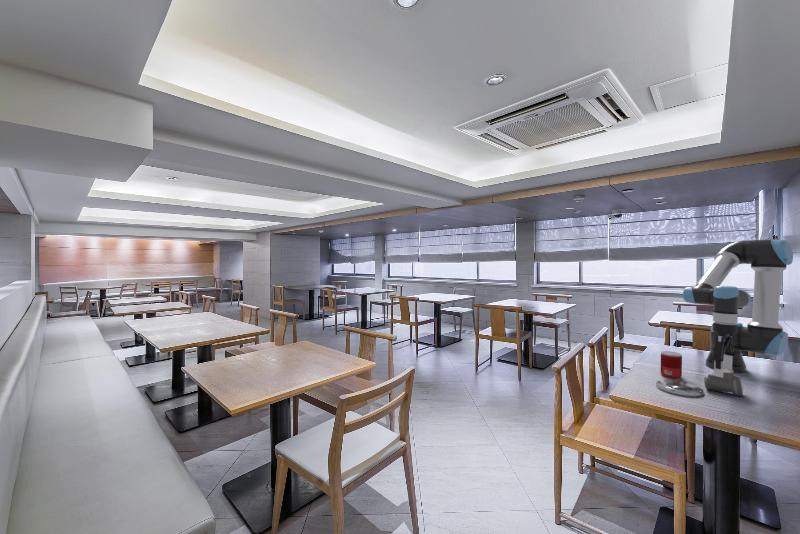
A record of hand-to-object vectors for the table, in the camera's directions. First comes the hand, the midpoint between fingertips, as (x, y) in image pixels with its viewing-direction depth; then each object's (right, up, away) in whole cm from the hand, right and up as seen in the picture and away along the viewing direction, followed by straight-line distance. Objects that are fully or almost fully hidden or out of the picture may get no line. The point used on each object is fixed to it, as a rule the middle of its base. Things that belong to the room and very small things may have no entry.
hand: (723, 373), depth 147 cm
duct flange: (-15, -8, +4) cm, 18 cm away
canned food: (-6, -8, +20) cm, 23 cm away
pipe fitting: (0, -8, +1) cm, 8 cm away
